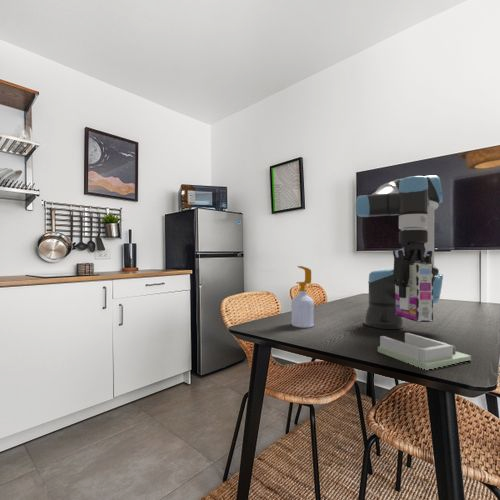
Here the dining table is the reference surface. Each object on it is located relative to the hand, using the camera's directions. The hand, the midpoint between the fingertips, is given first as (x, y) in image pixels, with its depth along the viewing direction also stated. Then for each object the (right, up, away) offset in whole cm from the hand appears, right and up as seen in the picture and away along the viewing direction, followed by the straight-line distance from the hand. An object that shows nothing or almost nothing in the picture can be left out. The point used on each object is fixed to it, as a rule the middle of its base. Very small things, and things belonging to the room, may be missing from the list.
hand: (412, 308), depth 89 cm
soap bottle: (-26, -14, +36) cm, 47 cm away
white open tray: (+2, -14, -1) cm, 14 cm away
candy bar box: (0, -3, 0) cm, 3 cm away
